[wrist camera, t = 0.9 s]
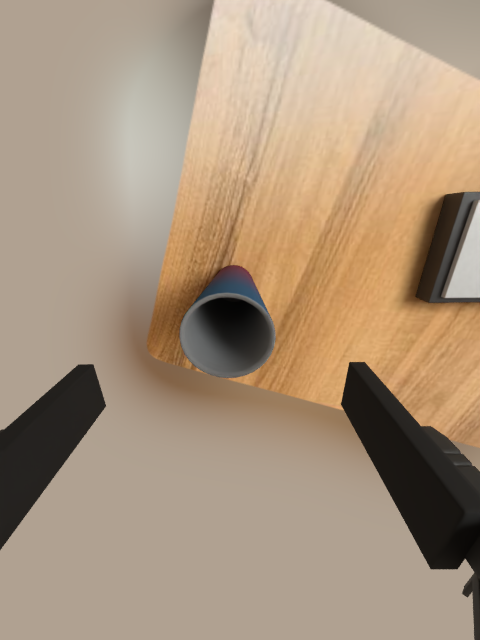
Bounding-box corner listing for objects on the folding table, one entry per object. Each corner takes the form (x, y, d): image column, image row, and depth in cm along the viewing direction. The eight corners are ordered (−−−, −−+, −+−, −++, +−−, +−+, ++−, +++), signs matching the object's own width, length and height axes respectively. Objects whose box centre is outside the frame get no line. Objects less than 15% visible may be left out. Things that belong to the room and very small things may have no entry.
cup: (240, 318, 32) (240, 392, 18) (197, 291, 31) (162, 349, 17) (270, 277, 30) (295, 327, 16) (225, 246, 28) (211, 272, 15)
